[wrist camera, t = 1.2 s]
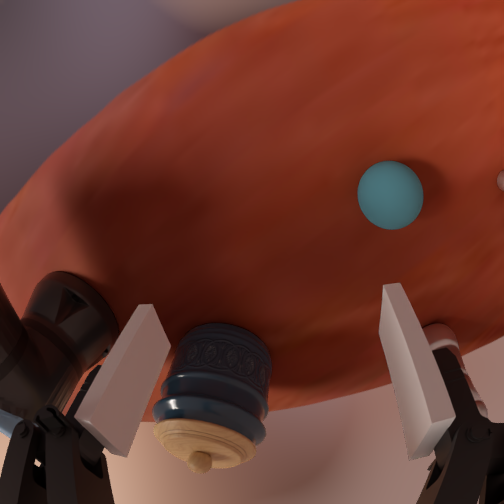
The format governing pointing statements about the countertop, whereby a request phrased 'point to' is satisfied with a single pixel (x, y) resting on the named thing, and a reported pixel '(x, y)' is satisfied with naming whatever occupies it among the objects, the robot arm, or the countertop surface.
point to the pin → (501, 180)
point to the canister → (215, 397)
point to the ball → (390, 195)
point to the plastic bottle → (444, 338)
